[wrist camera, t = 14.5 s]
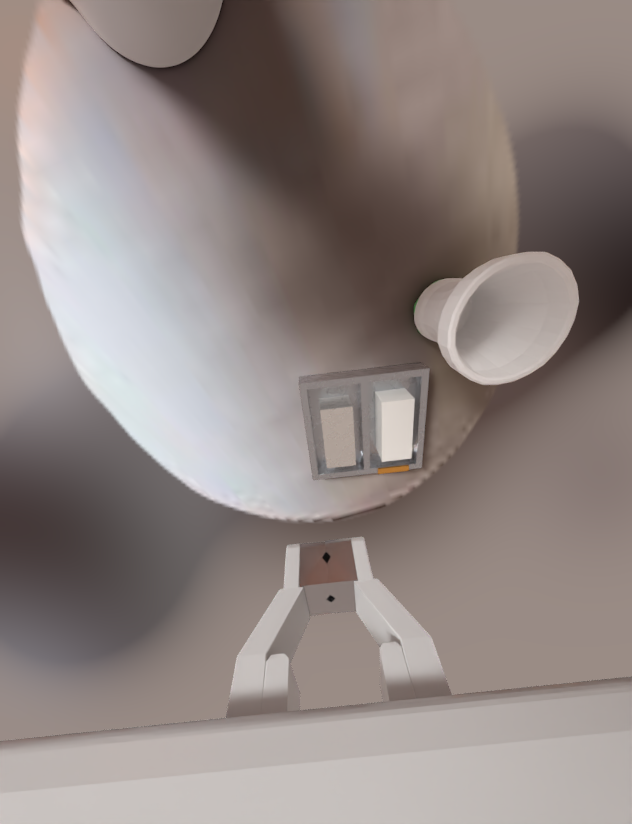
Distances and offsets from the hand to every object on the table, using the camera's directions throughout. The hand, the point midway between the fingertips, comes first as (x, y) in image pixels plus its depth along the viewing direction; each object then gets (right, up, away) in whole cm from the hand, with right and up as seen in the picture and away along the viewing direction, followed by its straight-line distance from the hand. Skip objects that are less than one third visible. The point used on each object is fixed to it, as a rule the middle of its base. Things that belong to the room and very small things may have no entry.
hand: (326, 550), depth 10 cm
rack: (+7, +4, +32) cm, 33 cm away
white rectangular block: (+11, +4, +32) cm, 34 cm away
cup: (+16, +19, +26) cm, 36 cm away
